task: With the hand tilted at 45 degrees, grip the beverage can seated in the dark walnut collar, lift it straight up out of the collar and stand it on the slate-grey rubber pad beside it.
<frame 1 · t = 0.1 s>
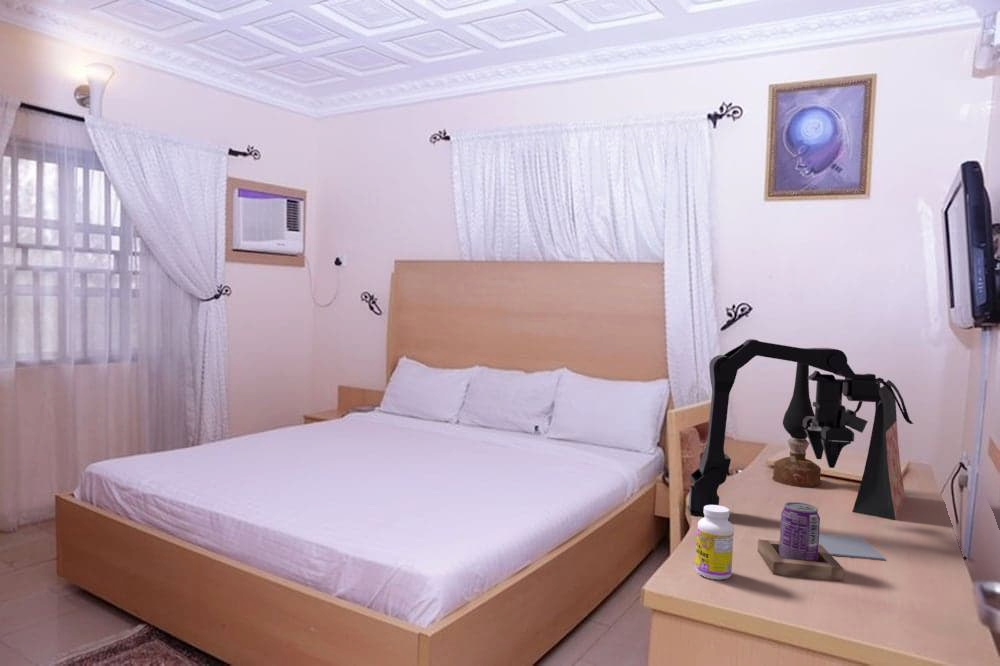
hand: (825, 463, 161), 15 cm above the table, tool pointing down, fingers open, 9 cm apart
gift bag: (876, 506, 178), on the table
supplement bottle: (712, 575, 127), on the table
grey pad: (840, 546, 145), on the table
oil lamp: (796, 482, 201), on the table
walnut collar: (797, 565, 133), on the table
beverage can: (797, 566, 133), resting in walnut collar
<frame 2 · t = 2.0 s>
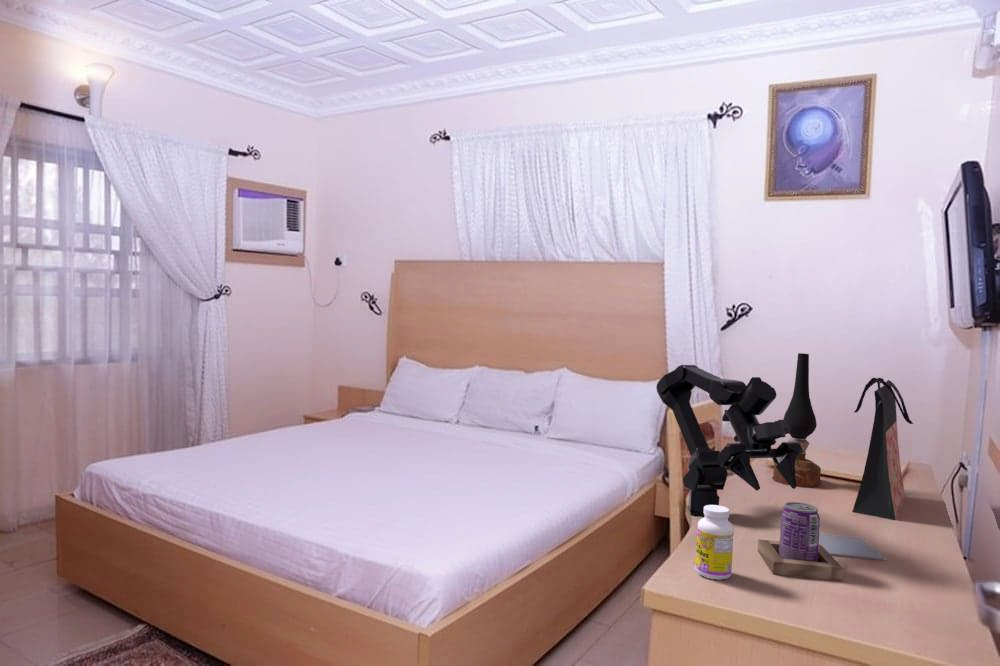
hand: (776, 488, 140), 13 cm above the table, tool tilted 45°, fingers open, 9 cm apart
nothing on the table moved.
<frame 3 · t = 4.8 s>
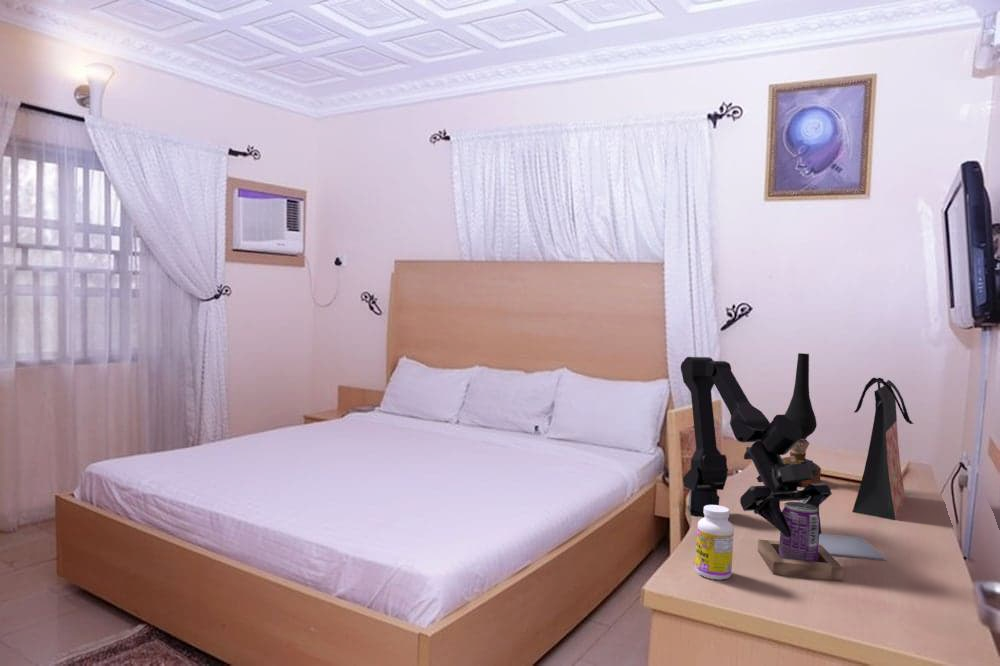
hand: (804, 535, 131), 7 cm above the table, tool tilted 45°, fingers closed on beverage can, 7 cm apart
beverage can: (797, 566, 133), resting in walnut collar, touching gripper
everything else where it was.
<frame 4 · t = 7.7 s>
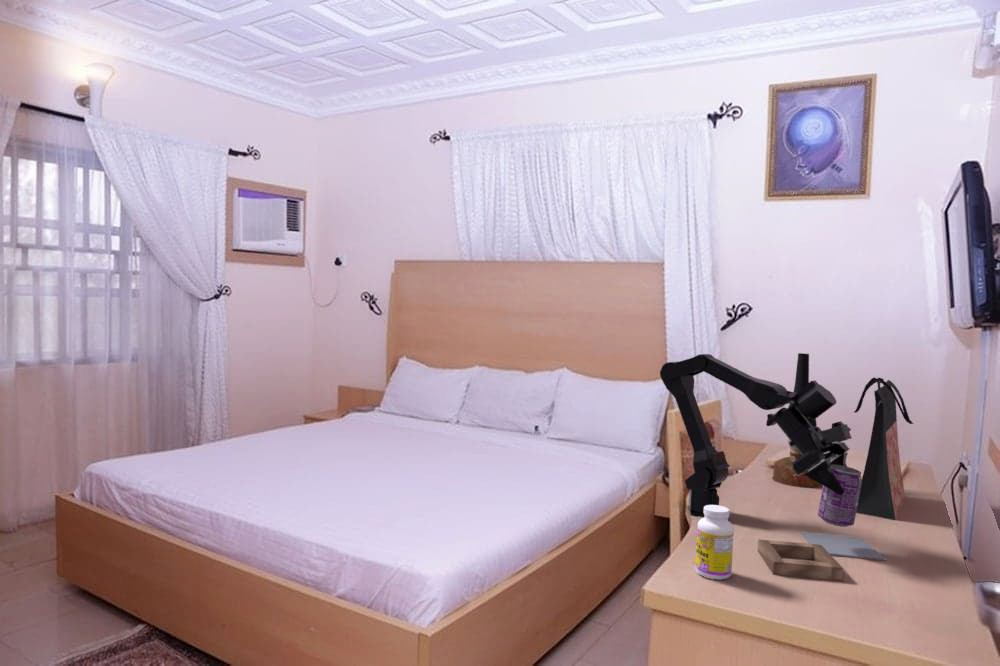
hand: (848, 490, 141), 13 cm above the table, tool tilted 45°, fingers closed on beverage can, 7 cm apart
beverage can: (834, 523, 143), point 6 cm above the table, touching gripper
everything else where it was.
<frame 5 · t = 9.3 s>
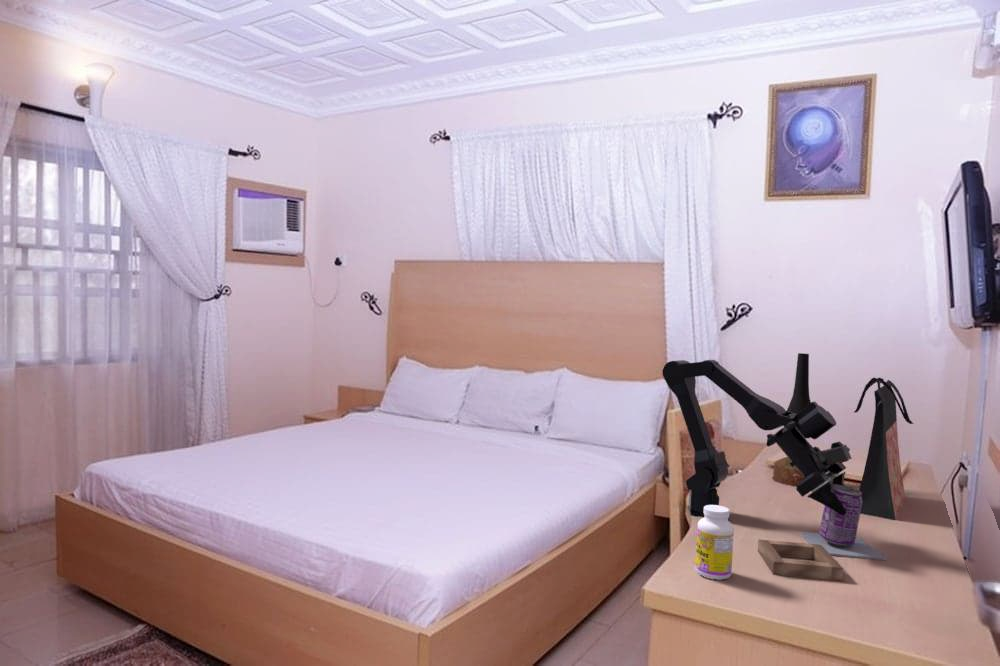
hand: (849, 510, 144), 8 cm above the table, tool tilted 45°, fingers closed on beverage can, 7 cm apart
beverage can: (835, 542, 145), point 1 cm above the table, touching gripper
everything else where it was.
when the fingers open (8 cm above the table, at t = 9.7 s): beverage can stays where it is, resting on grey pad.
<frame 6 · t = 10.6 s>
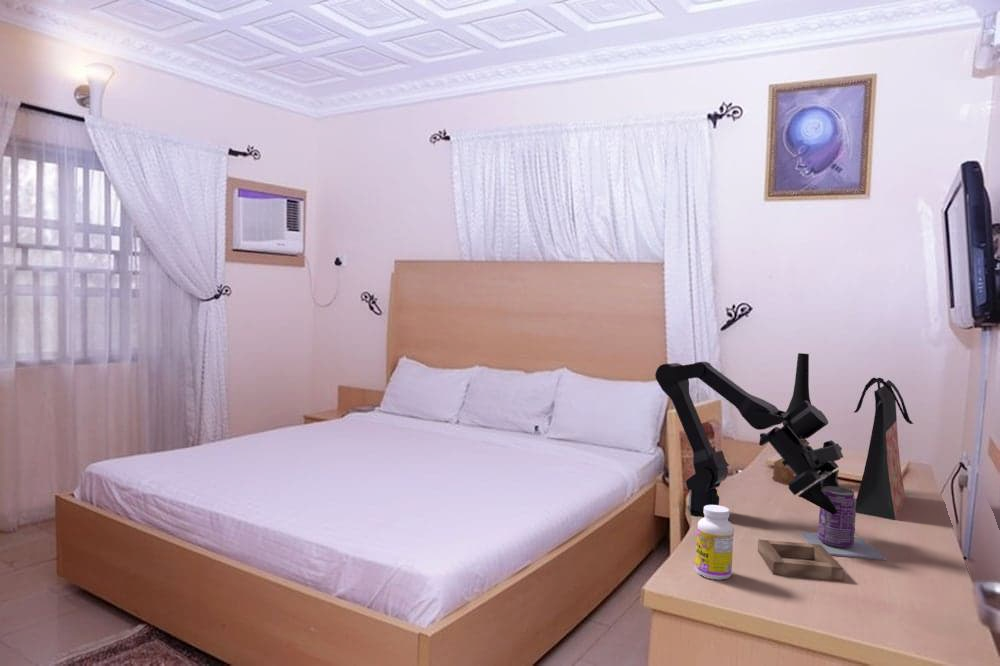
hand: (841, 508, 145), 8 cm above the table, tool tilted 45°, fingers open, 9 cm apart
beverage can: (835, 544, 145), resting on grey pad
everything else where it was.
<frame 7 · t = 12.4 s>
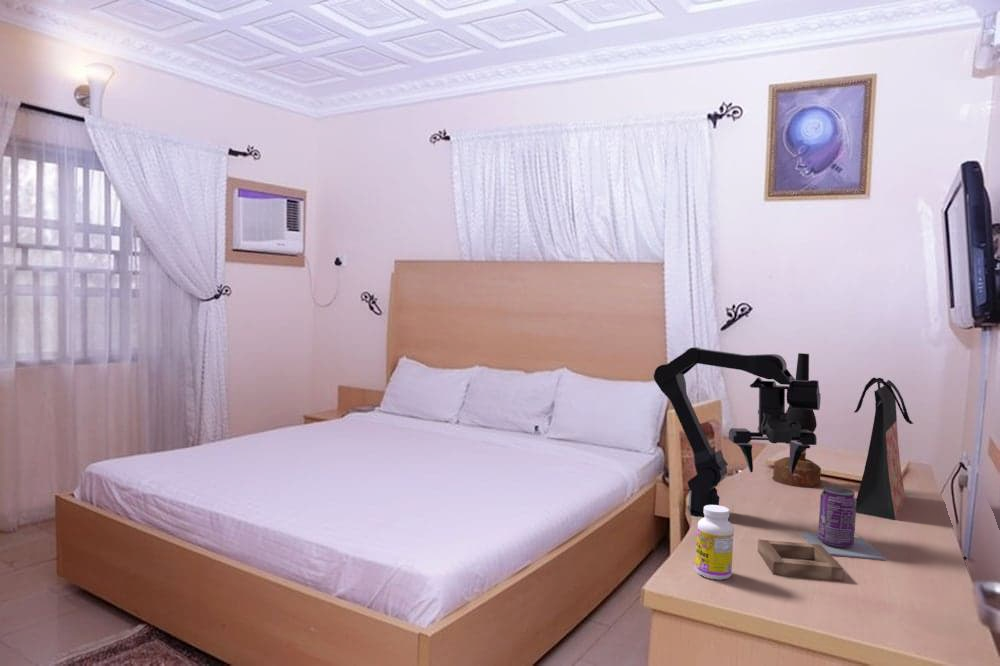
hand: (771, 472, 157), 13 cm above the table, tool pointing down, fingers open, 9 cm apart
nothing on the table moved.
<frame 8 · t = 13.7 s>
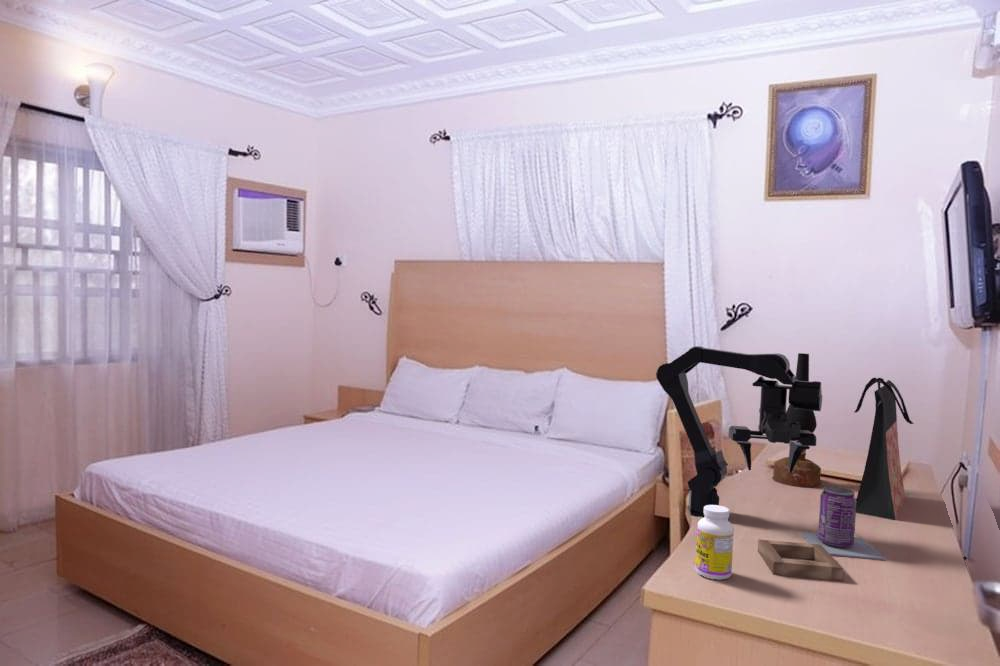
hand: (769, 471, 157), 13 cm above the table, tool pointing down, fingers open, 9 cm apart
nothing on the table moved.
at the end: beverage can inside the target area on the grey pad (1.0 cm from its centre), point 0.2 cm above the grey pad's base; beverage can tilted 0°; the gripper is holding nothing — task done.
